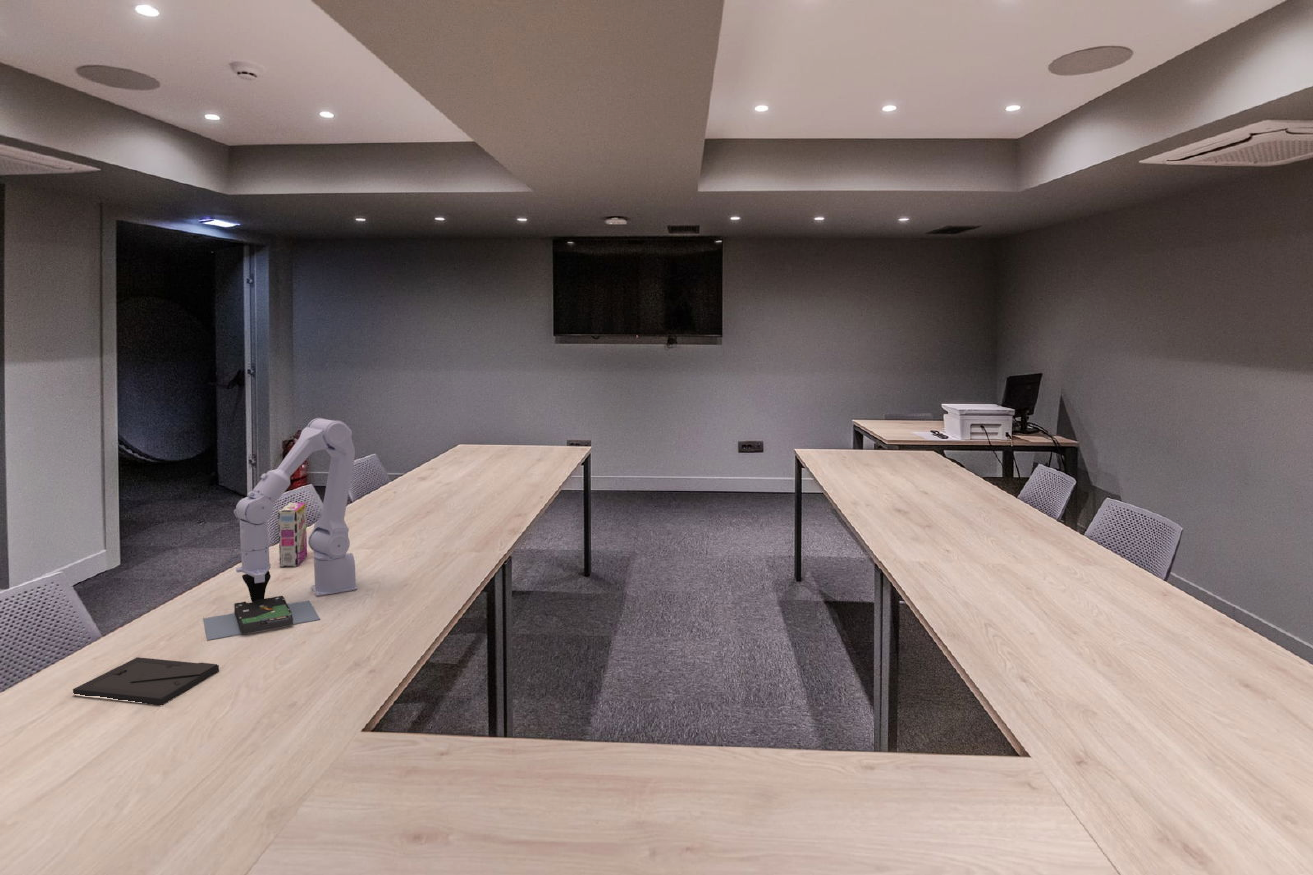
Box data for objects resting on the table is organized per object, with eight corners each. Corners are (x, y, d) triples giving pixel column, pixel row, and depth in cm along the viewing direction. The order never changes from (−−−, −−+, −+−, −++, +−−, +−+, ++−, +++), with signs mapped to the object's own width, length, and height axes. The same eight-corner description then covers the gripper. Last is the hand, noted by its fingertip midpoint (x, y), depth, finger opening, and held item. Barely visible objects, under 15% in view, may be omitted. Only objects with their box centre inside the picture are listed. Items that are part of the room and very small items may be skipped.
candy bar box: (298, 567, 199) (296, 510, 197) (279, 568, 198) (276, 511, 195) (308, 555, 210) (306, 501, 207) (290, 556, 208) (287, 502, 206)
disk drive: (233, 615, 164) (241, 636, 152) (232, 603, 163) (240, 623, 151) (283, 606, 170) (294, 625, 158) (282, 594, 169) (294, 613, 157)
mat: (309, 601, 173) (309, 600, 173) (320, 619, 162) (320, 618, 162) (203, 619, 161) (203, 618, 161) (207, 640, 149) (207, 639, 149)
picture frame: (219, 674, 136) (137, 666, 139) (218, 663, 136) (137, 655, 138) (161, 709, 123) (73, 699, 126) (161, 697, 123) (72, 687, 125)
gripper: (232, 543, 169) (235, 597, 171) (238, 558, 157) (241, 616, 159) (265, 538, 173) (268, 592, 175) (273, 553, 161) (276, 610, 163)
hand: (257, 603), depth 167 cm, fingers closed
